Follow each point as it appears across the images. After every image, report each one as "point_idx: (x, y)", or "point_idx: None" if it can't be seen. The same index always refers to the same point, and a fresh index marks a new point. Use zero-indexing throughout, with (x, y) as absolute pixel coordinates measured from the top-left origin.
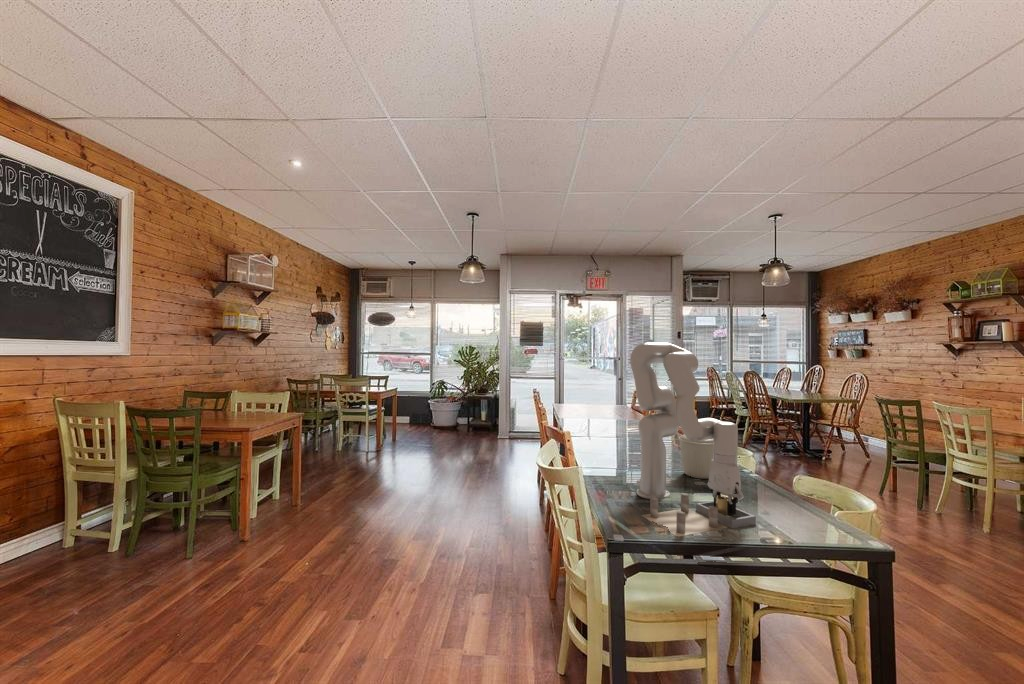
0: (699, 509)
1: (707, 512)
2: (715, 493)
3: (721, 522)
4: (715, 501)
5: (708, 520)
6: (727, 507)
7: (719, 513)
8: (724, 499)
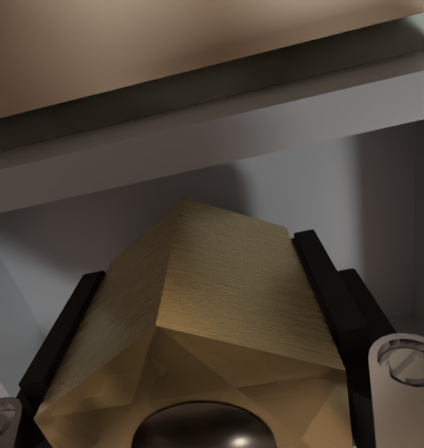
0: (413, 60)
1: (265, 99)
2: (380, 425)
3: (48, 143)
4: (310, 294)
5: (122, 20)
6: (70, 329)
7: (76, 178)
8: (121, 416)
